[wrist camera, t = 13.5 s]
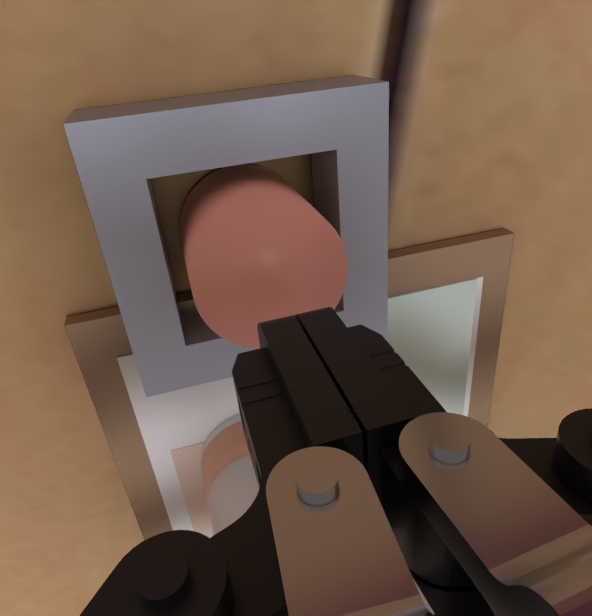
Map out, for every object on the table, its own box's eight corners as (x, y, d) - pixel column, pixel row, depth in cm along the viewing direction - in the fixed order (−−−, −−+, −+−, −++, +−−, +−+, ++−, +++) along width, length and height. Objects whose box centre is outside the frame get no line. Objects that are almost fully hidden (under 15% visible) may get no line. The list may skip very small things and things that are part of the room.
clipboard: (462, 551, 29) (475, 572, 28) (187, 645, 26) (190, 672, 25) (504, 227, 19) (527, 239, 18) (66, 316, 16) (61, 337, 15)
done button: (308, 272, 17) (349, 330, 14) (192, 296, 17) (207, 363, 13) (298, 155, 15) (344, 188, 12) (166, 175, 15) (176, 218, 11)
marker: (306, 473, 21) (472, 895, 11) (208, 501, 21) (287, 985, 10) (298, 397, 19) (493, 828, 9) (189, 424, 18) (262, 936, 8)
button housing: (359, 305, 19) (387, 339, 17) (144, 353, 17) (146, 397, 15) (353, 74, 15) (389, 81, 13) (74, 110, 13) (62, 124, 11)
